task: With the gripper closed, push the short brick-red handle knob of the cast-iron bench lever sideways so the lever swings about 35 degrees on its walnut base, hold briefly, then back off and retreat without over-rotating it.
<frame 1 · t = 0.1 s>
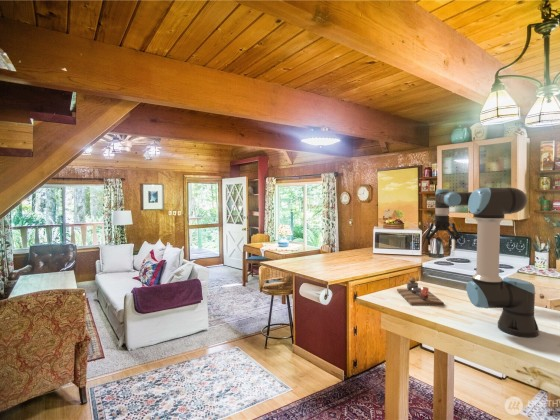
hand: (441, 250, 198), 28 cm above the table, fingers open, 13 cm apart
lever: (419, 289, 195), point 5 cm above the table, hinge at 0.0°
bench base: (418, 297, 196), on the table
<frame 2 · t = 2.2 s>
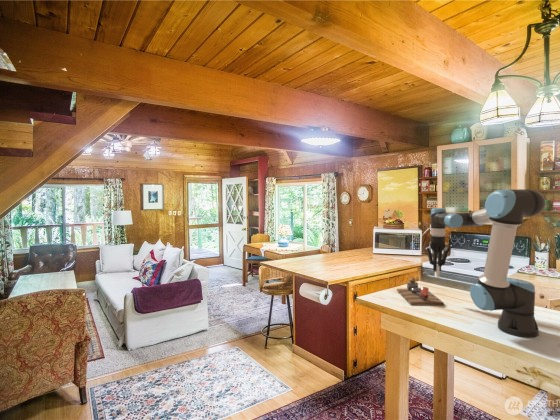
hand: (436, 276, 187), 15 cm above the table, fingers closed
nothing on the table moved.
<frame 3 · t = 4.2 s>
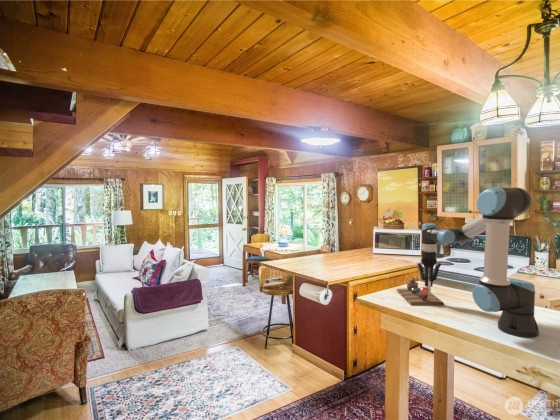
hand: (428, 292, 188), 6 cm above the table, fingers closed
lever: (419, 289, 195), point 5 cm above the table, hinge at 1.1°, touching gripper
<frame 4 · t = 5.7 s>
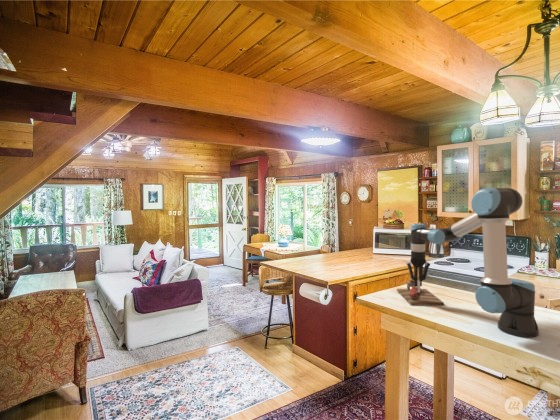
hand: (418, 291, 189), 6 cm above the table, fingers closed
lever: (414, 289, 196), point 5 cm above the table, hinge at 24.6°, touching gripper
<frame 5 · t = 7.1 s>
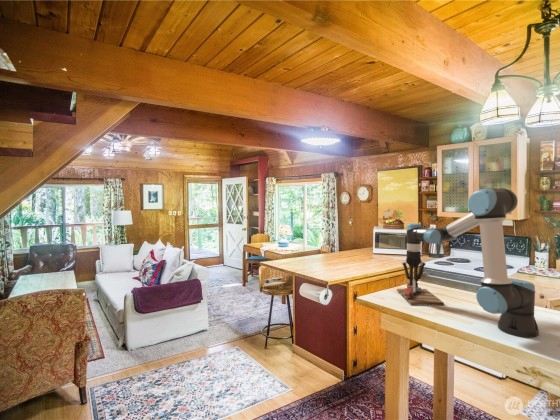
hand: (413, 291, 190), 6 cm above the table, fingers closed
lever: (412, 288, 196), point 5 cm above the table, hinge at 35.3°, touching gripper
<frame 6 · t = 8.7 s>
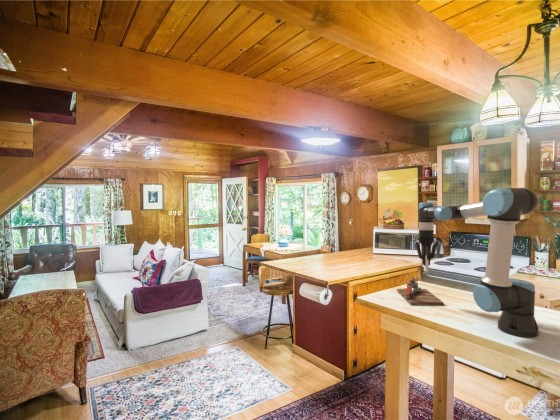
hand: (426, 271, 187), 18 cm above the table, fingers closed
lever: (412, 288, 196), point 5 cm above the table, hinge at 35.3°
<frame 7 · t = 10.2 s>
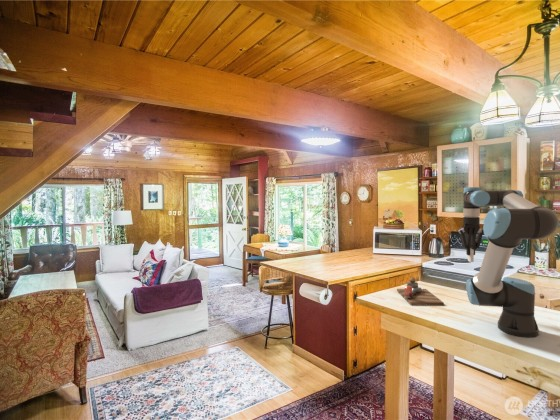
hand: (470, 261, 174), 26 cm above the table, fingers closed
nothing on the table moved.
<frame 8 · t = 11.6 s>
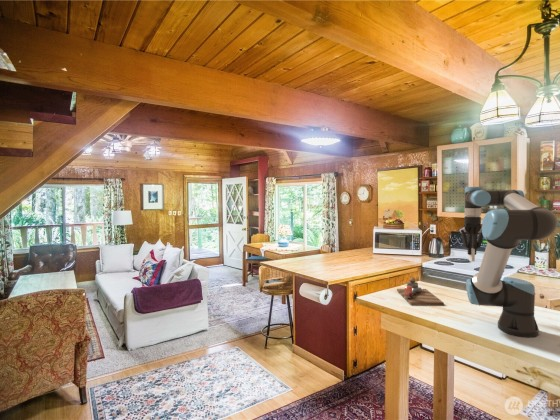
hand: (471, 260, 174), 26 cm above the table, fingers closed
nothing on the table moved.
at the end: lever at +35° (first picture: +0°) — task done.
